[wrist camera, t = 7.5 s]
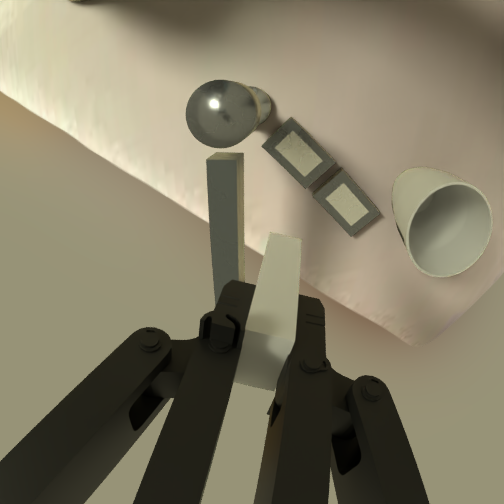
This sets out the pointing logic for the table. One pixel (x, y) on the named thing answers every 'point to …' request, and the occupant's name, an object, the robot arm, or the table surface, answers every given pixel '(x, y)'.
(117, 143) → the table surface
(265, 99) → the post
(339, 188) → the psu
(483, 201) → the cup
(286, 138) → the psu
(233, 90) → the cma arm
